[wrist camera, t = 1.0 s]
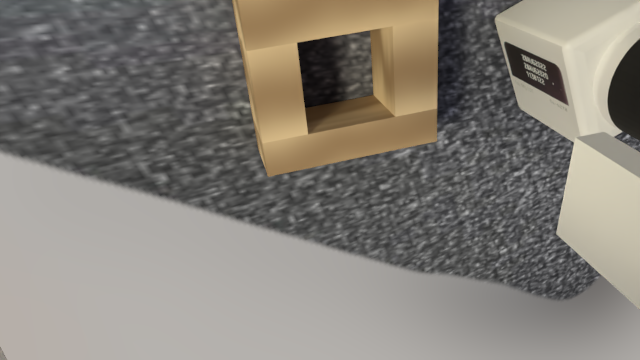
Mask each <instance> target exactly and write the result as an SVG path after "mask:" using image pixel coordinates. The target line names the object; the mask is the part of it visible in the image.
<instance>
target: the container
mask: <svg viewBox="0 0 640 360" xmlns="http://www.w3.org/2000/svg"><path fill="white" fill-rule="evenodd" d="M495 24H496V28H497V31H498V35H499V38H500V42H501V45H502V49H503V52H504V56H505V60H506V63H507V67H508V70H509V74H510V77H511V81H512V84H513V88H514V91H515V95H516V99H517V102H518V106H519V107H520V109H521V110H523V111H525V112H526V113H528V114H529V115H531V116H533V117H534V118H536V119H537V120H539V121H540V122H542V123H544V124H545V125H547V126H548V127H550V128H552V129H553V130H555V131H556V132H558V133H560V134H561V135H563V136H564V137H566V138H568V139H569V140H571V141H572V142H575V137H580V136H585V135H590V134H595V133H600V132H606V133H607V134H609V135H611V136H612V137H614V136H616V135H618V134H619V133H621V132H625V133H627V134H629V135H630V136H632V137H634V138H636V139H638V140H640V0H523V1H521V2H519V3H517V4H516V5H514V6H512V7H510V8H509V9H507V10H505V11H503V12H502V13H500V14H498V15H497V16H496V18H495Z"/></svg>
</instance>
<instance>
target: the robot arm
mask: <svg viewBox="0 0 640 360" xmlns="http://www.w3.org/2000/svg"><path fill="white" fill-rule="evenodd" d="M556 234H557V235H558V236H559V237H560V238H561V239H562V240H564V241H565V242H566V243H567V244H568V245H569V246H570V247H571V248H572V249H573V250H575V251H576V252H577V253H578V254H579V255H580V256H581V257H582V258H583V259H585V260H586V261H587V262H588V263H589V264H590V265H591V266H592V267H593V268H594V269H596V270H597V271H598V272H599V273H600V274H601V275H602V276H603V277H604V278H605V279H607V280H608V281H609V282H610V283H611V284H612V285H613V286H614V287H615V288H616V289H618V290H619V291H620V292H621V293H622V294H623V295H624V296H625V297H626V298H627V299H629V300H630V301H631V302H632V303H633V304H634V305H635V306H636V307H637V308H638V309H640V152H638V151H637V150H635V149H633V148H631V147H630V146H628V145H626V144H625V143H623V142H621V141H619V140H618V139H616V138H614V137H612V136H611V135H609V134H607V133H606V132H600V133H595V134H590V135H585V136H580V137H575V142H574V147H573V152H572V157H571V162H570V167H569V172H568V177H567V182H566V187H565V192H564V197H563V202H562V207H561V212H560V217H559V222H558V227H557V232H556ZM0 360H7V359H6V357H5V355H4V353H3V351H2V349H1V347H0Z"/></svg>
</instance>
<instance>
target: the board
mask: <svg viewBox="0 0 640 360" xmlns="http://www.w3.org/2000/svg"><path fill="white" fill-rule="evenodd" d="M232 2H233V8H234V14H235V19H236V25H237V31H238V36H239V42H240V48H241V53H242V59H243V64H244V70H245V76H246V81H247V87H248V93H249V98H250V104H251V110H252V115H253V121H254V127H255V132H256V138H257V143H258V149H259V152H260V155H261V158H262V160H263V163H264V166H265V169H266V172H267V174H268V177H269V176H274V175H278V174H283V173H288V172H293V171H297V170H302V169H307V168H311V167H316V166H321V165H326V164H330V163H335V162H340V161H345V160H349V159H354V158H359V157H364V156H368V155H373V154H378V153H383V152H387V151H392V150H397V149H401V148H406V147H411V146H416V145H420V144H425V143H430V142H435V141H437V83H438V6H439V0H232ZM368 30H370V35H371V55H372V74H373V94H374V95H371V96H366V97H361V98H355V99H350V100H345V101H340V102H335V103H329V104H324V105H319V106H314V107H308V108H305V105H304V97H303V89H302V80H301V72H300V64H299V56H298V48H297V43H298V42H304V41H309V40H315V39H321V38H327V37H333V36H339V35H345V34H351V33H356V32H362V31H368Z"/></svg>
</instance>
